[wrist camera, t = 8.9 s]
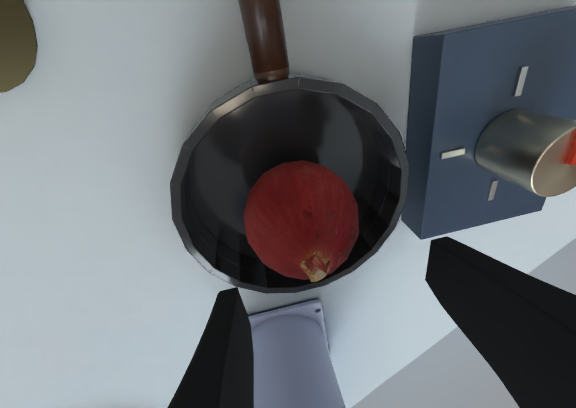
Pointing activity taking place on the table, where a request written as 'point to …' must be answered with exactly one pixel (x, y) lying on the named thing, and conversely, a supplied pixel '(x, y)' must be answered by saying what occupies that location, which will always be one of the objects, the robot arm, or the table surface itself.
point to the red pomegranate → (301, 220)
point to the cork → (15, 44)
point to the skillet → (274, 151)
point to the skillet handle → (265, 39)
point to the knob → (530, 151)
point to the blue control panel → (480, 113)
